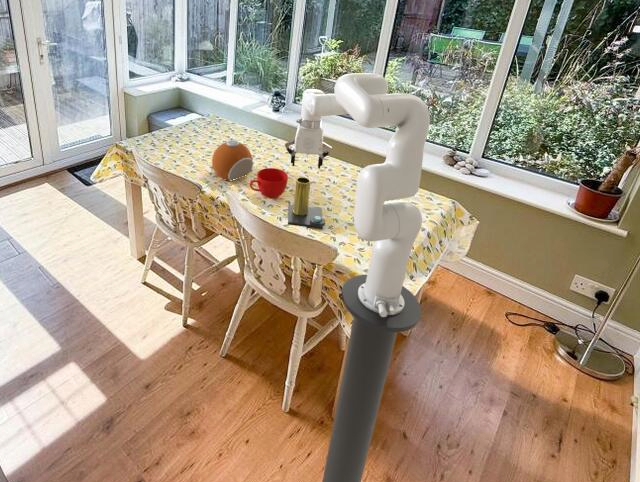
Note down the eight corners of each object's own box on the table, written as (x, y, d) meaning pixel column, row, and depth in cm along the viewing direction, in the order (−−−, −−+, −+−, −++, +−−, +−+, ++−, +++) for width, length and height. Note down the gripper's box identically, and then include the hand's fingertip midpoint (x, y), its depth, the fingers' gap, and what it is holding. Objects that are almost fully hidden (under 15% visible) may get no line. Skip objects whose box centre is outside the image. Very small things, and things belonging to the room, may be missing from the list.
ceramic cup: (243, 192, 180) (243, 172, 176) (277, 185, 186) (278, 166, 182) (255, 207, 169) (257, 185, 165) (291, 199, 175) (293, 179, 171)
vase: (309, 216, 161) (313, 184, 155) (293, 215, 161) (296, 183, 155) (306, 207, 167) (309, 176, 161) (291, 207, 166) (294, 176, 161)
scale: (324, 230, 154) (325, 224, 153) (287, 225, 156) (288, 220, 155) (322, 210, 167) (323, 205, 166) (288, 206, 170) (289, 201, 169)
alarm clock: (236, 163, 207) (237, 131, 200) (259, 177, 194) (260, 143, 187) (204, 173, 196) (204, 140, 190) (226, 188, 183) (227, 153, 177)
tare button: (321, 223, 155) (321, 219, 154) (314, 222, 155) (314, 219, 154) (320, 219, 157) (321, 216, 156) (314, 218, 157) (314, 215, 157)
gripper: (286, 124, 149) (282, 167, 154) (335, 128, 146) (330, 172, 151) (287, 118, 156) (283, 160, 161) (334, 122, 153) (328, 164, 158)
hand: (306, 166), depth 156 cm, fingers open, 9 cm apart
